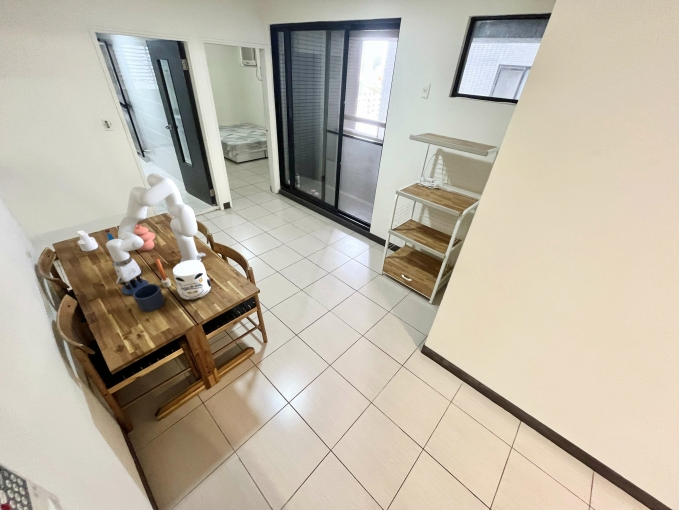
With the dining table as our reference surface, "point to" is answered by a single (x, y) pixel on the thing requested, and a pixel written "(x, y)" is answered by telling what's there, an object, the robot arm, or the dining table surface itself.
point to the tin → (149, 297)
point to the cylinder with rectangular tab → (86, 241)
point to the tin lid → (133, 286)
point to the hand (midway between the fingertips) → (134, 285)
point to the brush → (163, 275)
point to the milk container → (191, 279)
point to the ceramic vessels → (145, 237)
